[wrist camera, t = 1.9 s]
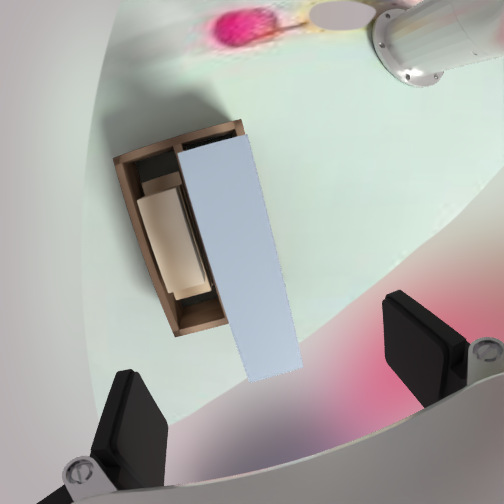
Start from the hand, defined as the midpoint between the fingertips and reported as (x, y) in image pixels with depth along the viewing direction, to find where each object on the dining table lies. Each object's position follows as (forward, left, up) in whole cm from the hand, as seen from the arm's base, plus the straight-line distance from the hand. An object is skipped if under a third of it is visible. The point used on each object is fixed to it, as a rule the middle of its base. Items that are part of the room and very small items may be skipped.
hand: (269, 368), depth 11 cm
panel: (0, 0, -29) cm, 29 cm away
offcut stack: (+6, 0, -29) cm, 30 cm away
